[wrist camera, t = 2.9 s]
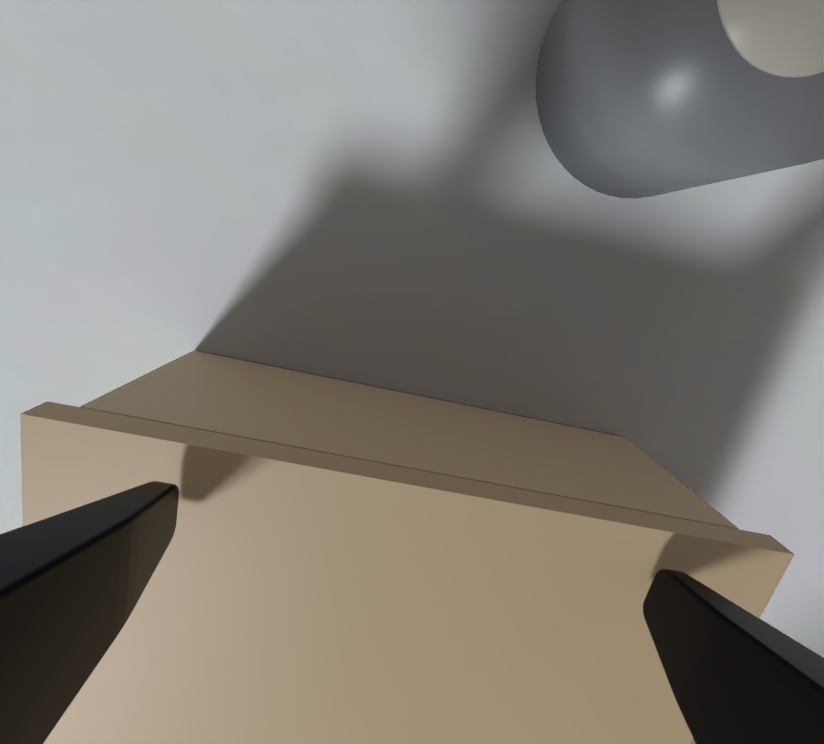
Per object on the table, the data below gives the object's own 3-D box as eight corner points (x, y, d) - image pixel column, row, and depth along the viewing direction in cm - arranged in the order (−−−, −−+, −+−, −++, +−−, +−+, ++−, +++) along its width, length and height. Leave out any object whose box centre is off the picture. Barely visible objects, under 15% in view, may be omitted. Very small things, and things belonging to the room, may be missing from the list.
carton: (625, 437, 15) (738, 528, 10) (509, 747, 18) (551, 927, 13) (193, 350, 13) (80, 406, 9) (158, 702, 17) (63, 883, 12)
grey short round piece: (791, -18, 12) (1082, -214, 7) (704, 219, 13) (890, 201, 8) (575, -86, 11) (719, -355, 6) (509, 170, 12) (583, 118, 8)
